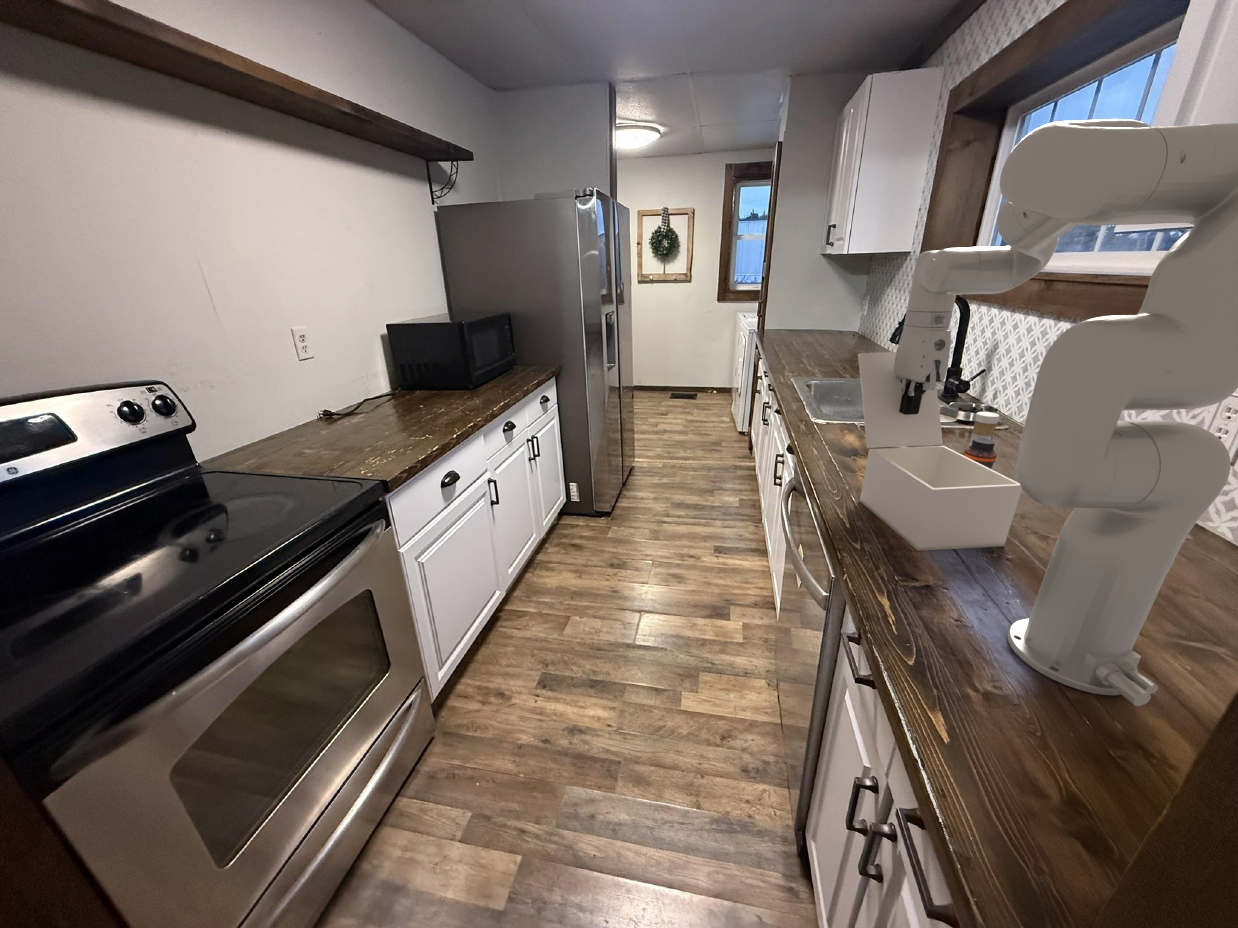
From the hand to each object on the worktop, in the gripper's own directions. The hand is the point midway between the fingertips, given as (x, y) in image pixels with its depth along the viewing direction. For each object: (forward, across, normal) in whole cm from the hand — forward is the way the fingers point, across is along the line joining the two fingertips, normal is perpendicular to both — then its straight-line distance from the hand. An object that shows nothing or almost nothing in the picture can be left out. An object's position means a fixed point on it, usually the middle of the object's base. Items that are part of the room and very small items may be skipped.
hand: (908, 413), depth 101 cm
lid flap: (-2, +3, 0) cm, 4 cm away
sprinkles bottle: (+19, +14, -30) cm, 38 cm away
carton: (+19, -12, 0) cm, 22 cm away
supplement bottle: (+19, +2, -20) cm, 28 cm away
